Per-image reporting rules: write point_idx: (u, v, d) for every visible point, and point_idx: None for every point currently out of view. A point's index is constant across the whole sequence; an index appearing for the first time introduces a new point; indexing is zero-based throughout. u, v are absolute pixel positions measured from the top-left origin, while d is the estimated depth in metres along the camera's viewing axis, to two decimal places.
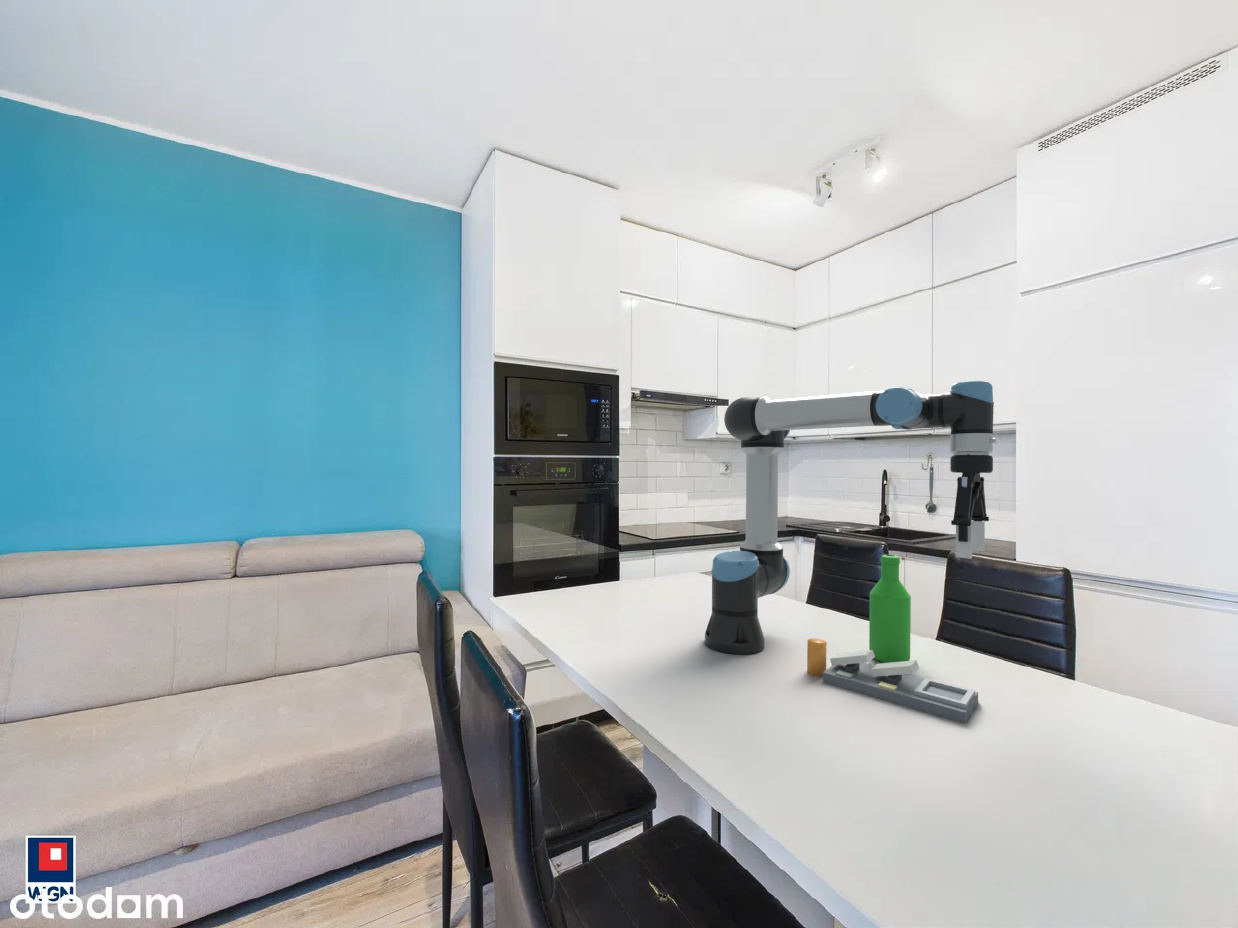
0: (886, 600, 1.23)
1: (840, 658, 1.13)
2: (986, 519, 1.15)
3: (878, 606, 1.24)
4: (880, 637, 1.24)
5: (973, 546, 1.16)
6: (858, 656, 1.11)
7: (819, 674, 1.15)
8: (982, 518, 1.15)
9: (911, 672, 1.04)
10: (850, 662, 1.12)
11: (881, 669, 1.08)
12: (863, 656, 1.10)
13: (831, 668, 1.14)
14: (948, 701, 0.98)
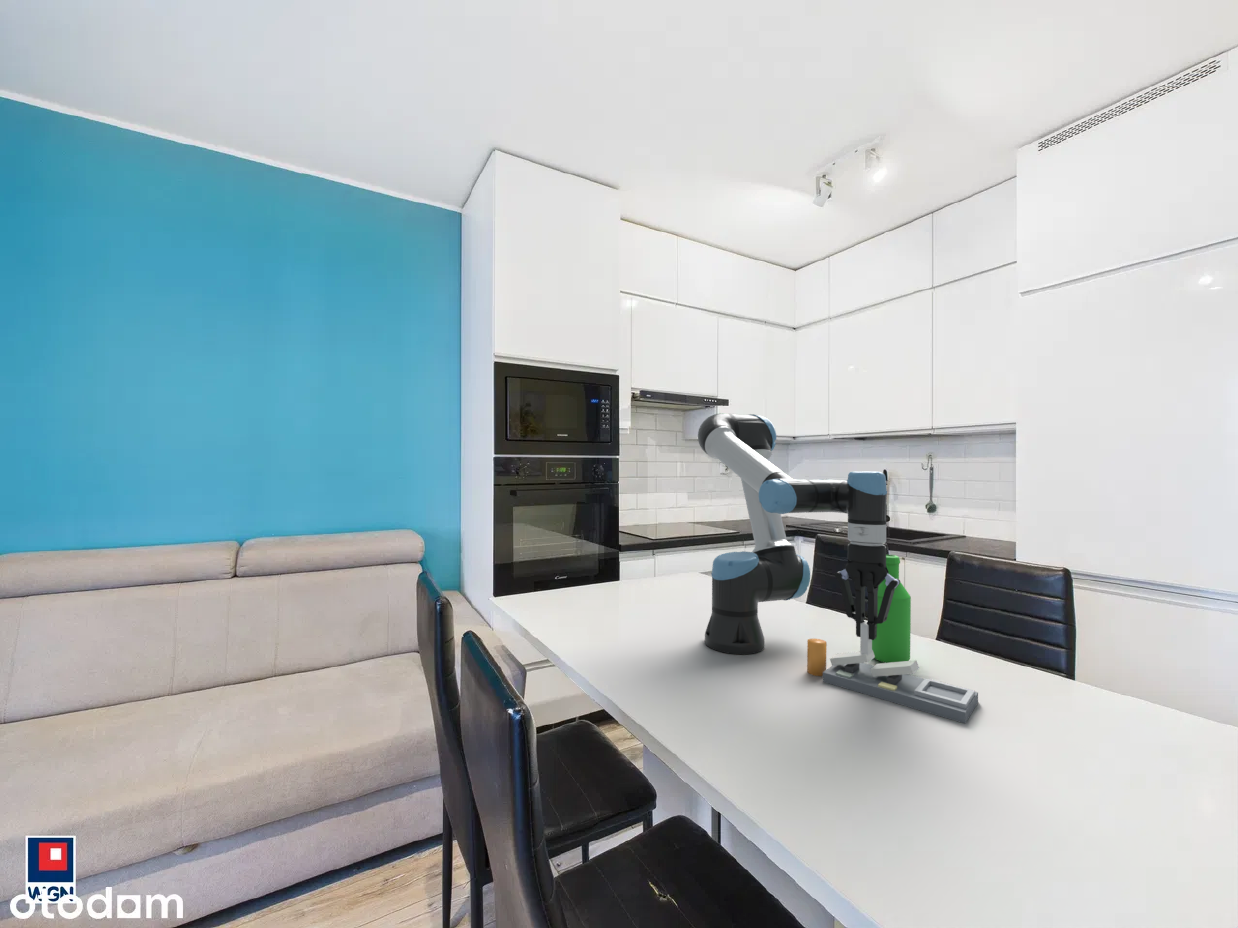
0: None
1: (840, 658, 1.13)
2: (868, 622, 1.10)
3: (878, 606, 1.24)
4: (880, 637, 1.24)
5: None
6: (858, 656, 1.11)
7: (819, 674, 1.15)
8: None
9: (911, 672, 1.04)
10: (850, 662, 1.12)
11: (881, 669, 1.08)
12: (863, 656, 1.10)
13: (831, 668, 1.14)
14: (948, 701, 0.98)
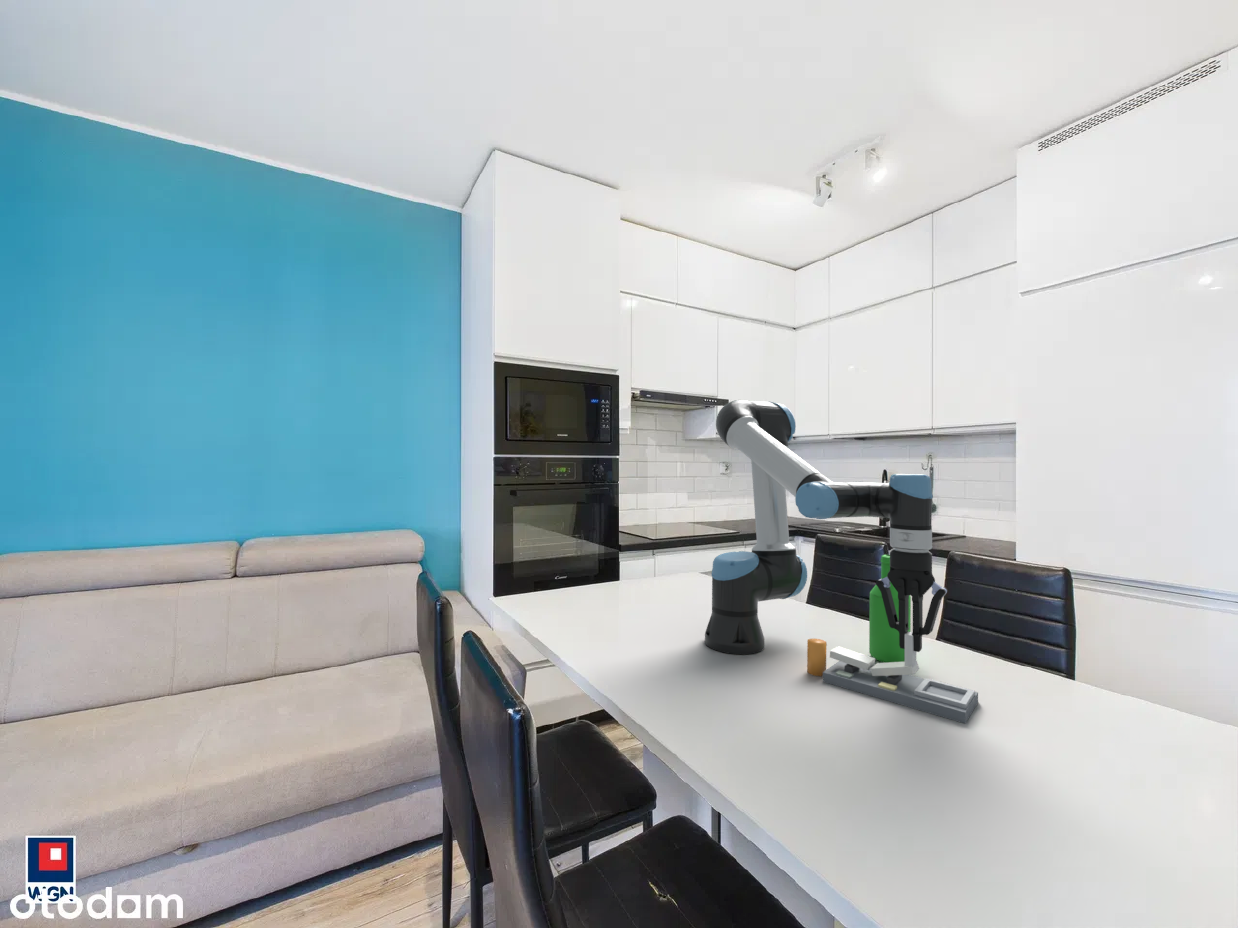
0: None
1: (841, 655, 1.13)
2: (913, 633, 1.04)
3: (878, 606, 1.24)
4: (880, 637, 1.24)
5: None
6: (860, 661, 1.11)
7: (819, 674, 1.15)
8: None
9: (911, 673, 1.04)
10: (849, 662, 1.12)
11: (881, 669, 1.08)
12: (865, 663, 1.10)
13: (831, 668, 1.14)
14: (948, 701, 0.98)
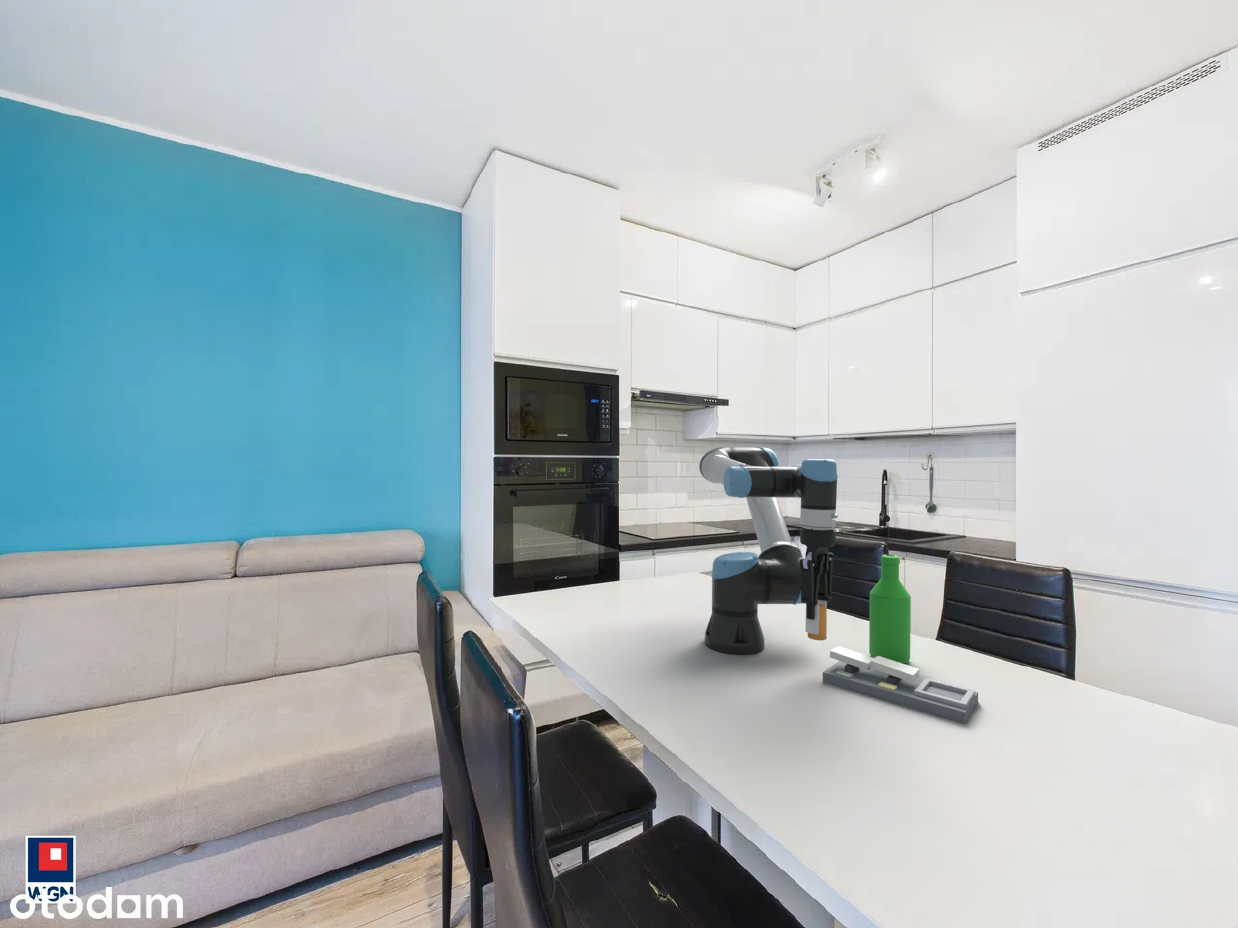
0: (886, 600, 1.23)
1: (841, 655, 1.13)
2: (828, 598, 1.18)
3: (878, 606, 1.24)
4: (880, 637, 1.24)
5: None
6: (860, 661, 1.11)
7: (819, 638, 1.16)
8: (825, 596, 1.19)
9: (911, 680, 1.04)
10: (849, 662, 1.12)
11: (882, 665, 1.08)
12: (865, 663, 1.10)
13: (831, 668, 1.14)
14: (948, 701, 0.98)
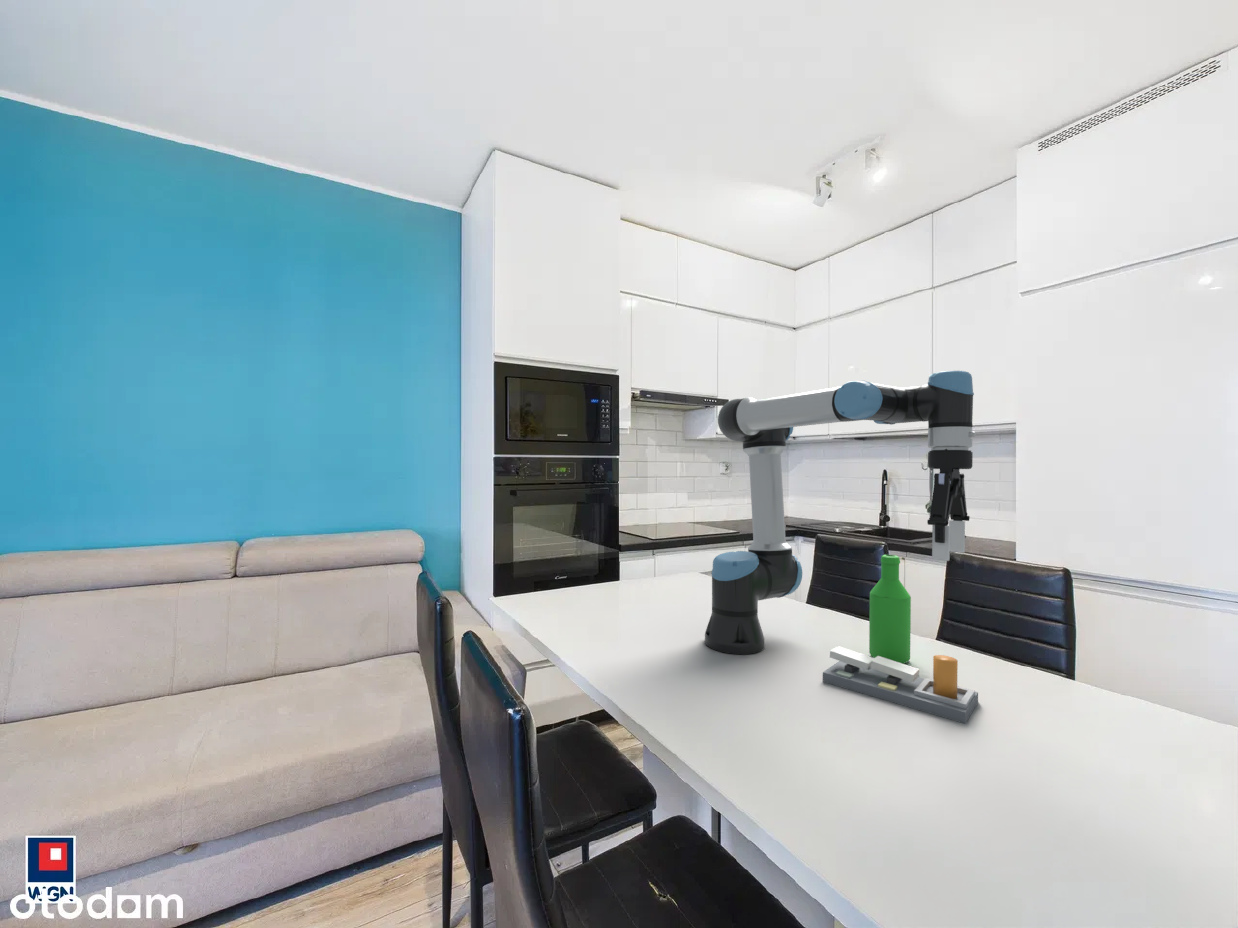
0: (886, 600, 1.23)
1: (841, 655, 1.13)
2: (966, 518, 1.08)
3: (878, 606, 1.24)
4: (880, 637, 1.24)
5: (952, 547, 1.09)
6: (860, 661, 1.11)
7: (951, 697, 1.00)
8: (962, 517, 1.08)
9: (911, 680, 1.04)
10: (849, 662, 1.12)
11: (882, 665, 1.08)
12: (865, 663, 1.10)
13: (831, 668, 1.14)
14: (948, 701, 0.98)
